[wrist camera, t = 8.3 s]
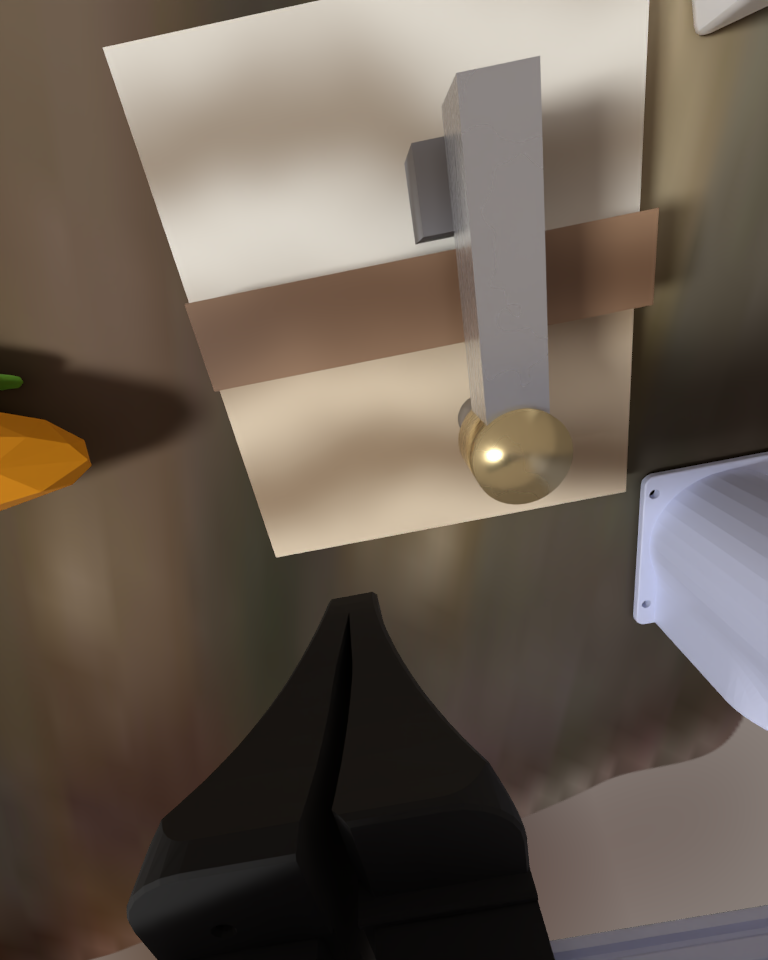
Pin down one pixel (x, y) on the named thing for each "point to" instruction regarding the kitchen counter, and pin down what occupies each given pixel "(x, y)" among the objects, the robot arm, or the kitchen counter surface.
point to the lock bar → (503, 280)
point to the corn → (35, 455)
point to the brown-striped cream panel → (388, 242)
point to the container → (722, 13)
